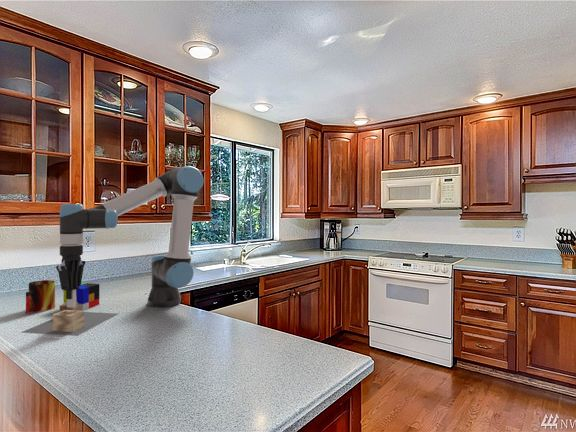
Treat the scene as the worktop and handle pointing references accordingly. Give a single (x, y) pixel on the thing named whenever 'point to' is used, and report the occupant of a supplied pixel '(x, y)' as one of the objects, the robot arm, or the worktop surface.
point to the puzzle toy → (86, 296)
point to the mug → (40, 296)
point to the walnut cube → (64, 307)
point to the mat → (89, 322)
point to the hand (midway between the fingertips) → (71, 306)
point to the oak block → (68, 320)
